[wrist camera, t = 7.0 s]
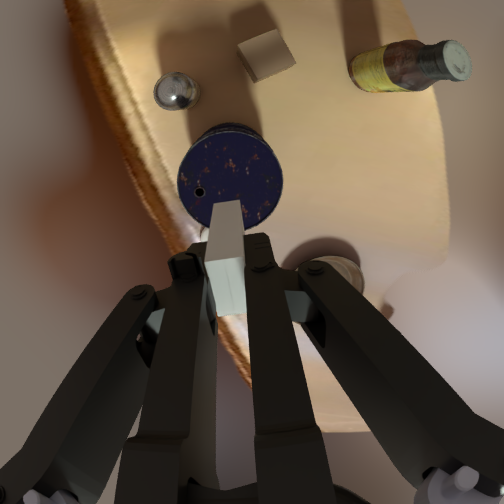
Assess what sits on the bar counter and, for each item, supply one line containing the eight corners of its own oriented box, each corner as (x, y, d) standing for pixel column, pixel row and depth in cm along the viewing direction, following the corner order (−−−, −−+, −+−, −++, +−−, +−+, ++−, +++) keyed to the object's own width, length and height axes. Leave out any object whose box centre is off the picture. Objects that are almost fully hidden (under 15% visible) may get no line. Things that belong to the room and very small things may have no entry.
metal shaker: (164, 81, 33) (146, 76, 26) (197, 74, 33) (188, 66, 26) (169, 112, 36) (152, 115, 28) (202, 106, 36) (194, 105, 28)
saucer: (274, 256, 47) (276, 265, 45) (361, 242, 47) (367, 249, 45) (282, 324, 54) (284, 333, 52) (357, 309, 54) (361, 318, 52)
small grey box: (236, 53, 32) (237, 44, 27) (270, 39, 31) (276, 28, 26) (254, 83, 35) (257, 79, 29) (287, 69, 34) (296, 63, 28)
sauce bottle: (365, 100, 36) (454, 109, 18) (338, 67, 34) (418, 48, 16) (393, 77, 34) (487, 77, 17) (368, 44, 32) (455, 21, 14)
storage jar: (257, 114, 37) (272, 118, 23) (273, 180, 41) (294, 219, 28) (186, 133, 37) (161, 148, 24) (205, 197, 42) (194, 244, 29)
